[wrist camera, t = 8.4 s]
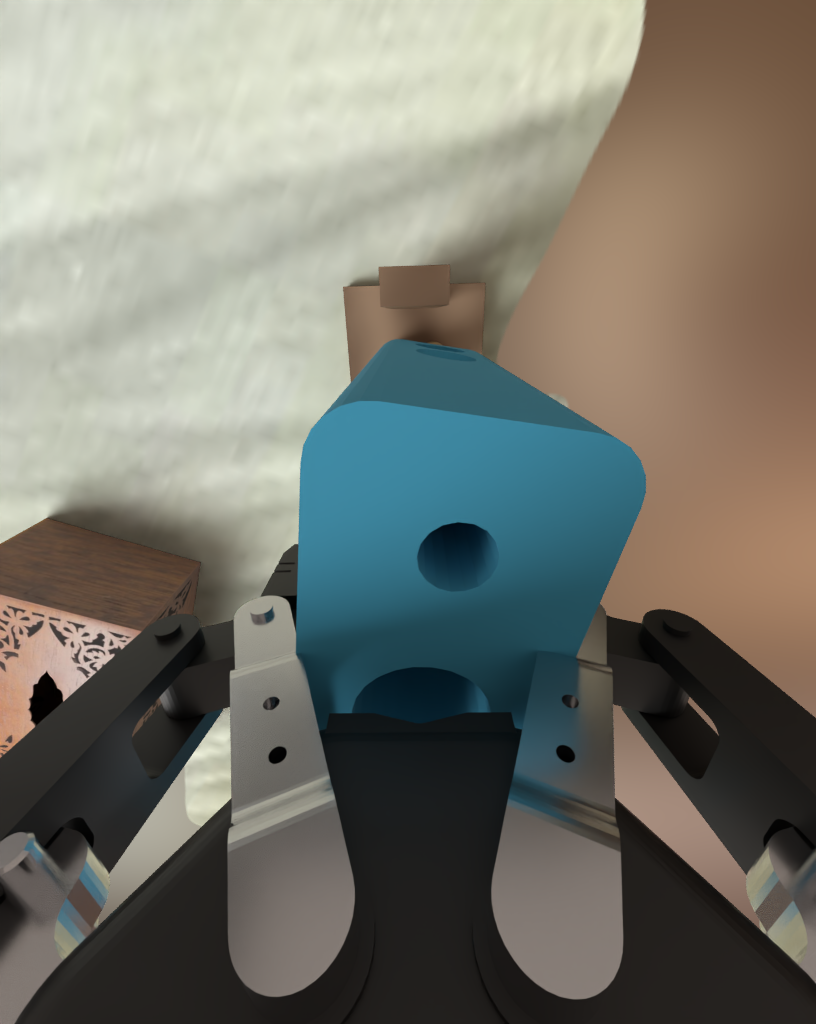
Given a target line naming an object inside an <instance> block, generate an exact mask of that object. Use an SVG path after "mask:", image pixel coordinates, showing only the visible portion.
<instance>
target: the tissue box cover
mask: <svg viewBox="0 0 816 1024" xmlns="http://www.w3.org/2000/svg"><path fill="white" fill-rule="evenodd" d="M200 564H201V562H197V561H194V560H190V559H187V558H183V557H180V556H177V555H173V554H170V553H166V552H163V551H159V550H156V549H152V548H149V547H145V546H142V545H138V544H135V543H131V542H128V541H124V540H121V539H117V538H114V537H110V536H107V535H103V534H100V533H97V532H93V531H90V530H86V529H83V528H79V527H76V526H72V525H69V524H65V523H62V522H58V521H55V520H51V519H48V518H46V519H44V520H42V521H41V522H39V523H37V524H35V525H33V526H32V527H30V528H28V529H26V530H25V531H23V532H21V533H19V534H17V535H16V536H14V537H12V538H10V539H8V540H7V541H5V542H3V543H1V544H0V758H1V757H2V756H3V755H4V754H5V753H6V752H7V751H9V750H10V749H11V748H12V747H13V746H14V745H15V744H16V743H18V742H19V741H20V740H21V739H22V738H23V737H24V736H25V735H26V734H28V733H29V732H30V731H31V730H32V729H33V728H34V727H35V726H37V725H38V724H39V723H40V722H41V721H42V720H43V719H44V718H46V717H47V716H48V715H49V714H50V713H51V712H52V711H53V710H54V709H56V708H57V707H58V706H59V705H60V704H61V703H62V702H63V701H65V700H66V699H67V698H68V697H69V696H70V695H71V694H72V693H73V692H75V691H76V690H77V689H78V688H79V687H80V686H81V685H82V684H84V683H85V682H86V681H87V680H88V679H89V678H90V677H91V676H93V675H94V674H95V673H96V672H97V671H98V670H99V669H100V668H101V667H103V666H104V665H105V664H106V663H107V662H108V661H109V660H110V659H112V658H113V657H114V656H115V655H116V654H117V653H118V652H119V651H121V650H122V649H123V648H124V647H125V646H126V645H127V644H128V643H129V642H131V641H132V640H133V639H134V638H135V637H136V636H137V635H138V634H140V633H141V632H142V631H143V630H144V629H145V628H146V627H148V626H149V625H151V624H152V623H154V622H156V621H158V620H160V619H162V618H165V617H168V616H171V615H176V614H190V615H193V609H194V603H195V596H196V590H197V584H198V577H199V571H200ZM54 681H55V695H54ZM160 704H161V701H160V698H158V700H157V701H156V702H155V703H154V704H153V705H152V706H151V707H150V709H149V710H148V711H147V712H146V713H145V714H144V715H143V717H142V718H141V719H140V720H139V722H138V723H137V725H136V727H135V729H134V731H133V735H132V737H133V736H134V734H135V733H136V732H137V731H138V730H139V729H140V727H141V726H142V725H143V724H144V723H145V722H146V720H147V719H148V718H149V717H150V716H151V715H152V714H153V712H154V711H155V710H156V709H157V708H158V707H159V705H160Z"/></svg>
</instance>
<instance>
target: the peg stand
mask: <svg viewBox="0 0 816 1024" xmlns="http://www.w3.org/2000/svg"><path fill="white" fill-rule="evenodd" d="M343 292H344V304H345V316H346V328H347V340H348V352H349V364H350V376H351V382H352V381H353V380H354V379H355V378H356V376H357V375H358V374H359V373H360V372H361V371H362V369H363V368H364V367H365V366H366V365H367V364H368V362H369V361H370V360H371V359H372V358H373V356H374V355H375V354H376V353H377V352H378V351H379V349H380V348H381V347H382V346H383V345H384V344H385V343H387V342H389V341H391V340H394V339H404V340H410V341H417V342H423V343H430V344H436V345H443V346H449V347H456V348H462V349H469V350H473V351H476V352H478V353H479V354H481V355H482V342H483V322H484V303H485V283H459V284H450V265H426V266H392V267H379V286H354V287H343Z"/></svg>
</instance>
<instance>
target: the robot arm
mask: <svg viewBox="0 0 816 1024" xmlns="http://www.w3.org/2000/svg"><path fill="white" fill-rule="evenodd" d="M274 571H275V572H274V573H273V574H272V576H271V578H270V580H269V582H268V584H267V585H266V587H265V589H264V591H263V593H262V595H261V597H258V598H255V599H253V600H250V601H248V602H247V603H245V604H244V605H242V606H241V607H240V608H239V609H238V610H237V612H236V613H235V615H234V620H232V621H229V622H225V623H221V624H216V625H212V626H207V627H203V628H201V625H200V622H199V620H198V618H197V617H195V616H193V615H190V614H176V615H171V616H168V617H165V618H162V619H160V620H158V621H156V622H154V623H152V624H151V625H149V626H148V627H146V628H145V629H144V630H143V631H142V632H141V633H140V634H138V635H137V636H136V637H135V638H134V639H133V640H132V641H131V642H129V643H128V644H127V645H126V646H125V647H124V648H123V649H122V650H121V651H119V652H118V653H117V654H116V655H115V656H114V657H113V658H112V659H110V660H109V661H108V662H107V663H106V664H105V665H104V666H103V667H101V668H100V669H99V670H98V671H97V672H96V673H95V674H94V675H93V676H91V677H90V678H89V679H88V680H87V681H86V682H85V683H84V684H82V685H81V686H80V687H79V688H78V689H77V690H76V691H75V692H73V693H72V694H71V695H70V696H69V697H68V698H67V699H66V700H65V701H63V702H62V703H61V704H60V705H59V706H58V707H57V708H56V709H54V710H53V711H52V712H51V713H50V714H49V715H48V716H47V717H46V718H44V719H43V720H42V721H41V722H40V723H39V724H38V725H37V726H35V727H34V728H33V729H32V730H31V731H30V732H29V733H28V734H26V735H25V736H24V737H23V738H22V739H21V740H20V741H19V742H18V743H16V744H15V745H14V746H13V747H12V748H11V749H10V750H9V751H7V752H6V753H5V754H4V755H3V756H2V757H1V758H0V1024H816V718H815V717H814V716H813V715H811V714H810V713H809V712H808V711H807V710H805V709H804V708H803V707H802V706H800V705H799V704H798V703H797V702H796V701H794V700H793V699H792V698H791V697H790V696H788V695H787V694H786V693H785V692H783V691H782V690H781V689H780V688H779V687H777V686H776V685H775V684H774V683H773V682H771V681H770V680H769V679H768V678H766V677H765V676H764V675H763V674H762V673H760V672H759V671H758V670H757V669H756V668H754V667H753V666H752V665H751V664H749V663H748V662H747V661H746V660H745V659H743V658H742V657H741V656H740V655H738V654H737V653H736V652H735V651H733V650H732V649H731V648H730V647H729V646H728V645H726V644H725V643H724V642H723V641H721V640H720V639H719V638H718V637H717V636H715V635H714V634H713V633H712V632H711V631H709V630H708V629H707V628H706V627H704V626H703V625H702V624H701V623H699V622H698V621H696V620H695V619H693V618H691V617H689V616H687V615H685V614H682V613H679V612H676V611H671V610H665V609H658V610H652V611H649V612H647V613H646V614H645V615H644V617H643V621H642V623H636V622H631V621H627V620H622V619H617V618H613V617H610V616H607V615H606V611H605V609H604V608H603V606H602V605H601V604H600V603H599V606H598V608H597V610H596V613H595V615H594V617H593V619H592V622H591V624H590V626H589V629H588V631H587V633H586V635H585V638H584V640H583V642H582V645H581V647H580V649H579V651H578V654H577V656H576V658H575V657H571V656H567V655H564V654H560V653H554V652H548V651H539V650H538V653H537V658H536V663H535V668H534V673H533V678H532V683H531V688H530V693H529V698H528V703H527V708H526V714H525V719H524V724H523V729H518V728H515V726H514V722H513V718H512V713H511V712H466V713H462V714H458V715H454V716H450V717H446V718H442V719H438V720H434V721H430V722H426V723H414V722H409V721H405V720H401V719H397V718H392V717H388V716H384V715H380V714H376V713H329V718H328V723H327V727H326V729H323V730H320V731H319V728H318V724H317V720H316V715H315V711H314V706H313V702H312V698H311V693H310V689H309V684H308V680H307V676H306V671H305V667H304V663H303V658H302V654H301V653H297V654H296V619H297V581H298V544H295V545H293V546H292V547H291V548H290V549H288V550H287V551H286V552H284V554H283V556H282V557H281V559H280V561H279V565H277V567H276V569H275V570H274ZM689 697H691V698H692V699H693V700H694V702H695V703H696V704H697V705H698V706H699V707H700V708H701V709H702V710H703V711H704V712H705V713H706V714H707V715H708V716H709V717H710V719H711V720H712V721H713V723H714V724H715V726H716V728H717V731H718V734H719V736H718V735H717V733H716V732H715V731H714V730H713V729H712V728H711V727H710V726H709V725H708V724H707V723H706V722H705V721H704V719H702V717H701V716H700V715H699V714H698V713H697V712H696V711H695V710H694V709H693V708H692V707H691V706H690V705H689V703H688V699H689ZM158 698H160V701H161V704H160V705H159V707H158V708H157V709H156V710H155V711H154V712H153V714H152V715H151V716H150V717H149V718H148V719H147V720H146V722H145V723H144V724H143V725H142V726H141V727H140V729H139V730H138V731H137V732H136V733H135V734H134V736H133V737H132V735H133V731H134V729H135V727H136V725H137V723H138V722H139V720H140V719H141V718H142V717H143V715H144V714H145V713H146V712H147V711H148V710H149V709H150V707H151V706H152V705H153V704H154V703H155V702H156V701H157V700H158ZM613 704H614V705H618V706H621V707H622V710H623V711H624V713H625V714H626V715H627V717H628V718H629V719H630V721H631V722H632V723H633V725H634V726H635V727H636V729H637V730H638V731H639V733H640V734H641V735H642V737H643V738H644V739H645V741H646V742H647V743H648V745H649V746H650V747H651V749H652V750H653V751H654V753H655V754H656V755H657V757H658V758H659V759H660V761H661V762H662V763H663V765H664V766H665V767H666V769H667V770H668V771H669V773H670V774H671V775H672V777H673V778H674V779H675V781H676V782H677V783H678V785H679V786H680V787H681V788H682V790H683V791H684V793H685V794H686V795H687V796H688V798H689V799H690V800H691V802H692V803H693V805H694V806H695V807H696V809H697V810H698V811H699V813H700V814H701V815H702V817H703V818H704V819H705V821H706V822H707V823H708V824H709V826H710V827H711V829H712V830H713V831H714V832H715V834H716V835H717V836H718V838H719V839H720V841H721V842H722V843H723V844H724V846H725V847H726V848H727V850H728V851H729V853H730V854H731V855H732V857H733V858H734V859H735V861H736V862H737V863H738V864H739V866H740V867H741V868H742V870H743V871H744V872H745V874H746V875H747V878H746V888H747V894H748V897H749V900H750V903H751V905H752V907H753V909H754V911H755V913H756V915H757V917H758V918H759V920H760V922H759V925H760V929H761V930H760V929H759V928H758V927H757V926H756V925H754V923H752V922H751V921H750V920H749V919H748V918H747V917H746V916H745V915H744V914H743V913H741V912H740V911H739V910H738V909H737V908H736V907H735V906H734V905H733V904H732V903H730V902H729V901H728V900H727V899H726V898H725V897H724V896H723V895H721V893H719V892H718V891H717V890H716V889H715V888H714V887H713V886H712V885H710V883H708V882H707V881H706V880H705V879H704V878H703V877H702V876H701V875H700V874H699V873H697V872H696V871H695V870H694V869H693V868H692V867H691V866H690V865H689V864H687V863H686V862H685V861H684V860H683V859H682V858H681V857H680V856H679V855H678V854H676V853H675V852H674V851H673V850H672V849H671V848H670V847H669V846H668V845H666V844H665V843H664V842H663V841H662V840H661V839H660V838H659V837H658V836H657V835H655V834H654V833H653V832H652V831H651V830H650V829H649V828H648V827H647V826H646V825H645V824H644V823H642V822H641V821H640V820H639V819H638V818H637V817H636V816H635V815H633V814H632V813H631V812H630V811H629V810H628V809H627V808H626V807H625V806H624V805H623V804H622V803H620V802H619V801H618V800H617V799H616V798H615V785H614V784H615V781H614V780H615V779H614V727H613ZM227 707H230V728H231V797H232V798H231V799H230V800H229V801H228V802H227V803H226V804H225V805H224V806H223V807H222V808H221V809H220V810H219V811H218V812H217V813H216V814H214V815H213V816H212V817H211V818H210V819H209V820H208V821H207V822H206V823H205V824H204V825H203V826H202V827H201V828H200V829H199V830H198V831H197V832H196V833H195V834H194V835H193V836H192V837H191V838H190V839H188V840H187V841H186V842H185V843H184V844H183V845H182V846H181V847H180V848H179V849H178V850H177V851H176V852H175V853H174V854H173V855H172V856H171V857H170V858H169V859H168V860H167V861H166V862H164V864H162V865H161V866H160V867H159V868H158V869H157V870H156V871H155V872H154V873H153V874H152V875H151V876H150V877H149V878H148V879H147V880H146V881H145V882H144V883H143V884H142V885H141V886H140V887H138V889H137V890H135V891H134V892H133V893H132V894H131V895H130V896H129V897H128V898H127V899H126V900H125V901H124V902H123V903H122V904H121V905H120V906H119V907H118V908H117V909H116V910H115V911H113V913H111V914H110V915H109V916H108V917H107V918H106V919H105V920H104V921H103V922H102V923H101V924H100V925H99V926H98V917H99V915H100V913H101V911H102V909H103V907H104V905H105V902H106V900H107V896H108V893H109V886H110V878H109V873H110V872H111V870H112V869H113V867H114V866H115V865H116V863H117V862H118V860H119V859H120V857H121V856H122V855H123V853H124V852H125V850H126V849H127V847H128V846H129V845H130V843H131V842H132V840H133V839H134V837H135V836H136V834H137V833H138V832H139V830H140V829H141V827H142V826H143V824H144V823H145V822H146V820H147V819H148V817H149V816H150V814H151V813H152V812H153V810H154V808H155V807H156V805H157V804H158V803H159V801H160V800H161V799H162V797H163V796H164V794H165V793H166V791H167V790H168V788H169V787H170V785H171V784H172V783H173V781H174V780H175V778H176V777H177V776H178V774H179V773H180V771H181V770H182V768H183V767H184V766H185V764H186V763H187V761H188V760H189V758H190V757H191V756H192V754H193V753H194V751H195V750H196V748H197V747H198V745H199V744H200V743H201V741H202V740H203V738H204V737H205V735H206V734H207V733H208V731H209V730H210V728H211V727H212V725H213V724H214V722H215V721H216V720H217V718H218V717H219V715H220V714H221V712H222V710H223V709H224V708H227Z"/></svg>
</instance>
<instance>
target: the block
mask: <svg viewBox="0 0 816 1024" xmlns="http://www.w3.org/2000/svg"><path fill="white" fill-rule="evenodd" d="M645 493H646V475H645V473H644V470H643V467H642V463H641V461H640V459H639V458H638V457H637V455H636V454H635V453H634V451H633V450H632V449H631V447H629V446H627V445H626V444H625V443H623V442H621V441H620V440H618V439H617V438H615V437H614V436H612V435H610V434H609V433H607V432H606V431H604V430H602V429H601V428H599V427H598V426H596V425H594V424H593V423H591V422H589V421H588V420H586V419H585V418H583V417H581V416H580V415H578V414H577V413H575V412H573V411H571V410H570V409H568V408H567V407H565V406H564V405H562V404H560V403H559V402H557V401H555V400H554V399H552V398H551V397H549V396H547V395H546V394H544V393H542V392H541V391H539V390H538V389H536V388H534V387H533V386H531V385H529V384H528V383H526V382H525V381H523V380H521V379H520V378H518V377H517V376H515V375H513V374H512V373H510V372H508V371H507V370H505V369H504V368H502V367H500V366H499V365H497V364H495V363H494V362H492V361H491V360H489V359H487V358H486V357H484V356H482V355H481V354H479V353H478V352H476V351H473V350H469V349H462V348H456V347H449V346H443V345H436V344H430V343H423V342H417V341H410V340H404V339H394V340H391V341H389V342H387V343H385V344H384V345H383V346H382V347H381V348H380V349H379V351H378V352H377V353H376V354H375V355H374V356H373V358H372V359H371V360H370V361H369V362H368V364H367V365H366V366H365V367H364V368H363V369H362V371H361V372H360V373H359V374H358V375H357V376H356V378H355V379H354V380H353V381H352V382H351V383H350V385H349V386H348V387H347V388H346V389H345V390H344V392H343V393H342V394H341V395H340V396H339V397H338V399H337V400H336V401H335V402H334V403H333V404H332V406H331V407H330V408H329V409H328V410H327V411H326V413H325V414H324V415H323V416H322V417H321V419H320V420H319V421H318V422H317V423H316V424H315V426H314V427H313V428H312V429H311V431H310V433H309V435H308V437H307V439H306V441H305V443H304V446H303V452H302V457H301V468H300V506H299V543H298V581H297V619H296V654H297V653H301V654H302V658H303V663H304V667H305V671H306V676H307V680H308V684H309V689H310V693H311V698H312V702H313V706H314V711H315V715H316V720H317V724H318V728H319V731H320V730H323V729H326V727H327V723H328V718H329V713H376V714H380V715H384V716H388V717H392V718H397V719H401V720H405V721H409V722H414V723H426V722H430V721H434V720H438V719H442V718H446V717H450V716H454V715H458V714H462V713H466V712H511V713H512V718H513V722H514V726H515V728H518V729H523V724H524V719H525V714H526V708H527V703H528V698H529V693H530V688H531V683H532V678H533V673H534V668H535V663H536V658H537V653H538V650H539V651H548V652H554V653H560V654H564V655H567V656H571V657H575V658H576V656H577V654H578V651H579V649H580V647H581V645H582V642H583V640H584V638H585V635H586V633H587V631H588V629H589V626H590V624H591V622H592V619H593V617H594V615H595V613H596V610H597V608H598V606H599V603H600V601H601V599H602V596H603V594H604V592H605V590H606V587H607V585H608V583H609V581H610V578H611V576H612V574H613V571H614V569H615V567H616V564H617V562H618V560H619V558H620V555H621V553H622V551H623V548H624V546H625V544H626V542H627V539H628V537H629V535H630V532H631V530H632V528H633V526H634V523H635V521H636V519H637V516H638V514H639V512H640V509H641V507H642V503H643V500H644V496H645Z"/></svg>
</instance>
